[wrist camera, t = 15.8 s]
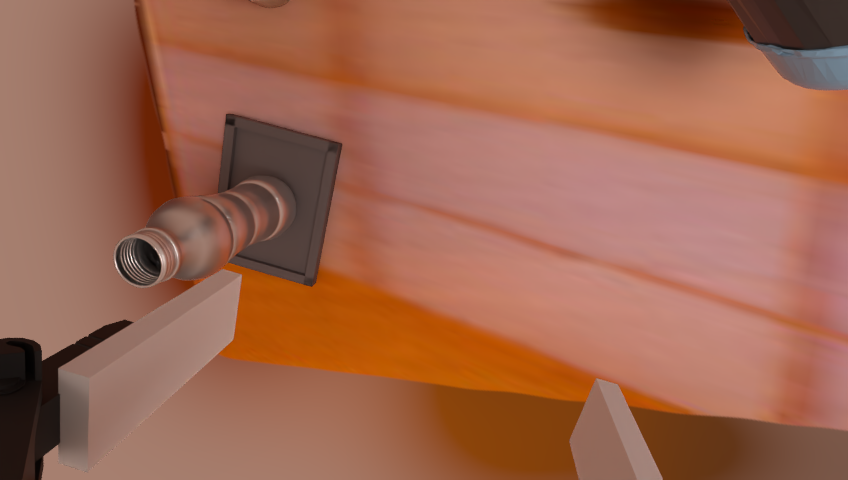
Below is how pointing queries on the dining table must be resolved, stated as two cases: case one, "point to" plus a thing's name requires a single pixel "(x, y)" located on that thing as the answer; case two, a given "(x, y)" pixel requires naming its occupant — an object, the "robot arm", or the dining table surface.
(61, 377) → the robot arm
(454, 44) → the dining table surface
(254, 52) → the dining table surface
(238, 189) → the plastic bottle
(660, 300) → the dining table surface
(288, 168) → the tray
